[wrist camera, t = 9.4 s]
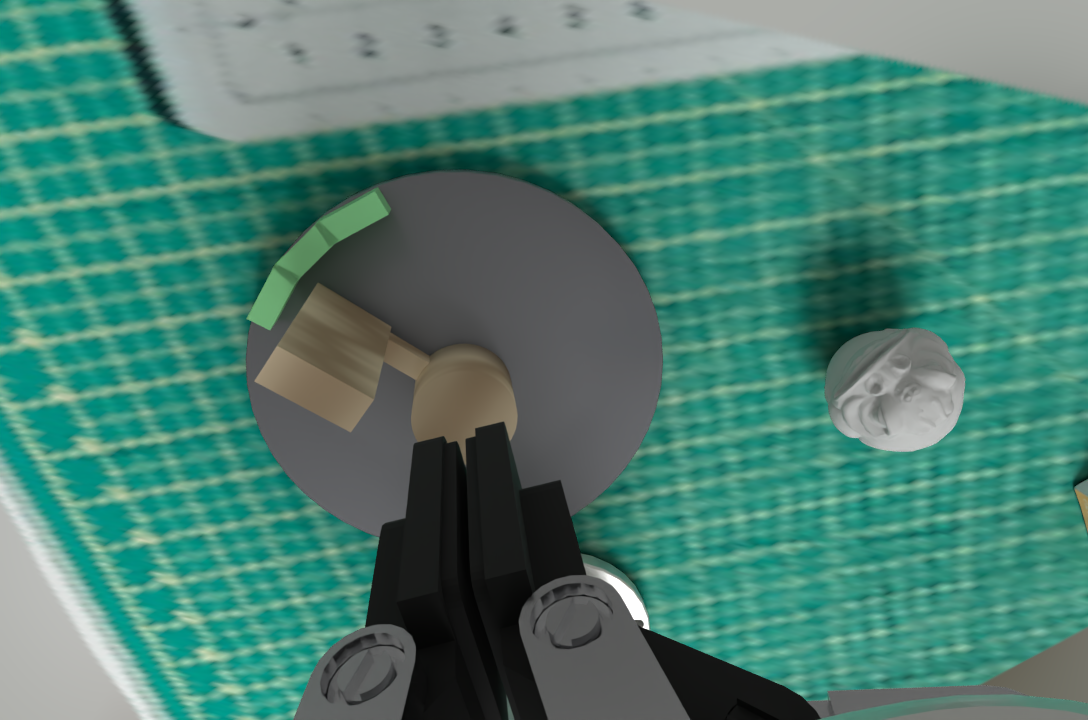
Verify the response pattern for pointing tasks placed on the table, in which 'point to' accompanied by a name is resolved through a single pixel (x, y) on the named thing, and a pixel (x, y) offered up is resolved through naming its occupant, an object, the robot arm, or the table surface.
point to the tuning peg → (355, 365)
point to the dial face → (467, 334)
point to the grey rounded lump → (895, 389)
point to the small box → (1083, 498)
